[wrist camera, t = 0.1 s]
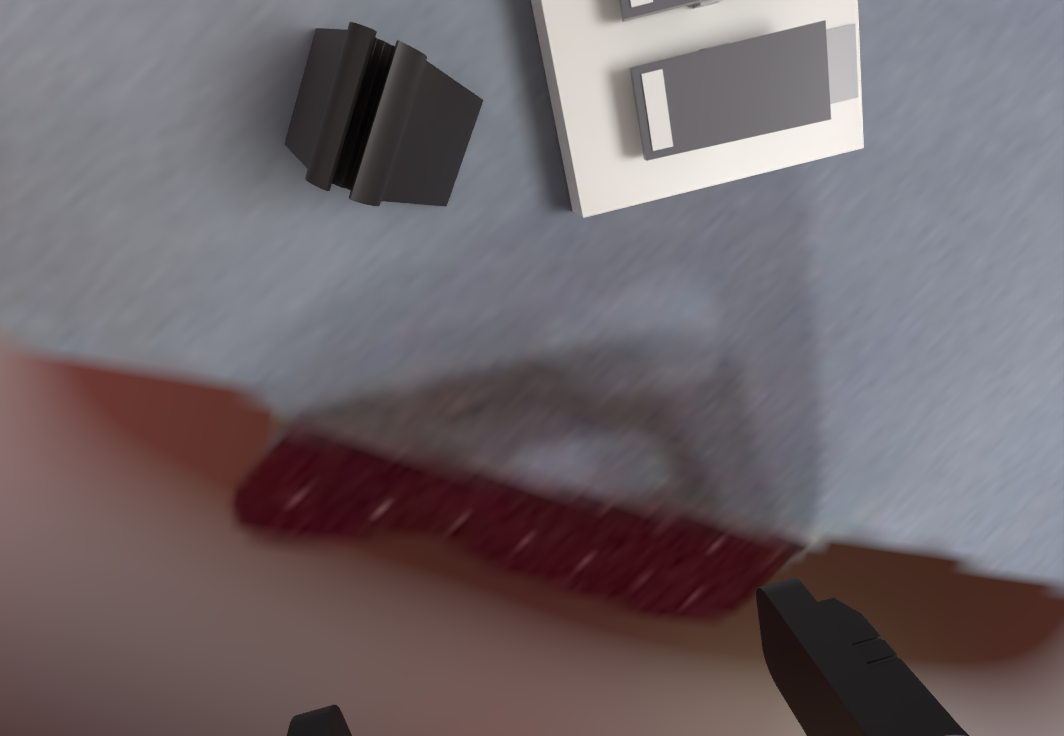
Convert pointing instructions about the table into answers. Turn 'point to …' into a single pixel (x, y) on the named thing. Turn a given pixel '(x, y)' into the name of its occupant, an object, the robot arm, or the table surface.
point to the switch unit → (614, 47)
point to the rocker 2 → (733, 91)
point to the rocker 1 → (650, 7)
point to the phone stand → (379, 120)
